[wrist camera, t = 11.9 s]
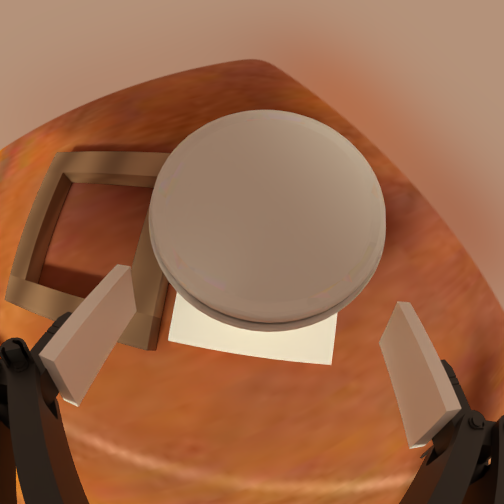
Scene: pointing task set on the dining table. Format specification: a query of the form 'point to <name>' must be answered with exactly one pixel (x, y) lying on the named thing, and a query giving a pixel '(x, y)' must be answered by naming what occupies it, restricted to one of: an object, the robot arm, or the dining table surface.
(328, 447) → the dining table surface
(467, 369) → the dining table surface
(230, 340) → the white tile
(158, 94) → the dining table surface
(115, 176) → the square frame
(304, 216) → the coffee cup
